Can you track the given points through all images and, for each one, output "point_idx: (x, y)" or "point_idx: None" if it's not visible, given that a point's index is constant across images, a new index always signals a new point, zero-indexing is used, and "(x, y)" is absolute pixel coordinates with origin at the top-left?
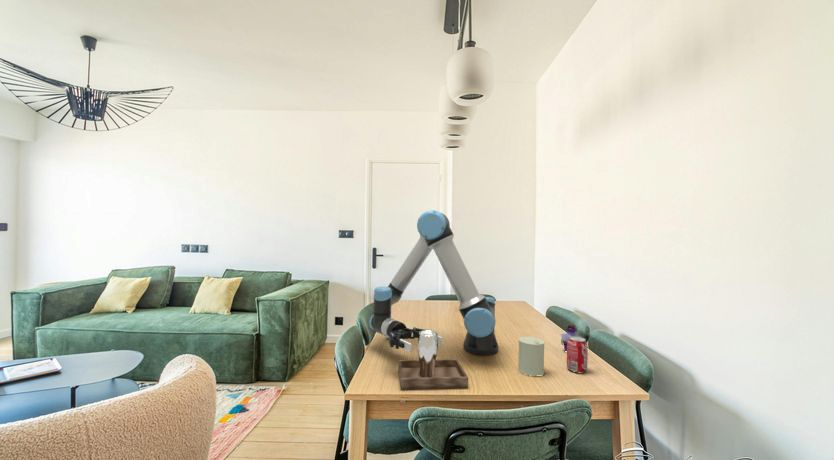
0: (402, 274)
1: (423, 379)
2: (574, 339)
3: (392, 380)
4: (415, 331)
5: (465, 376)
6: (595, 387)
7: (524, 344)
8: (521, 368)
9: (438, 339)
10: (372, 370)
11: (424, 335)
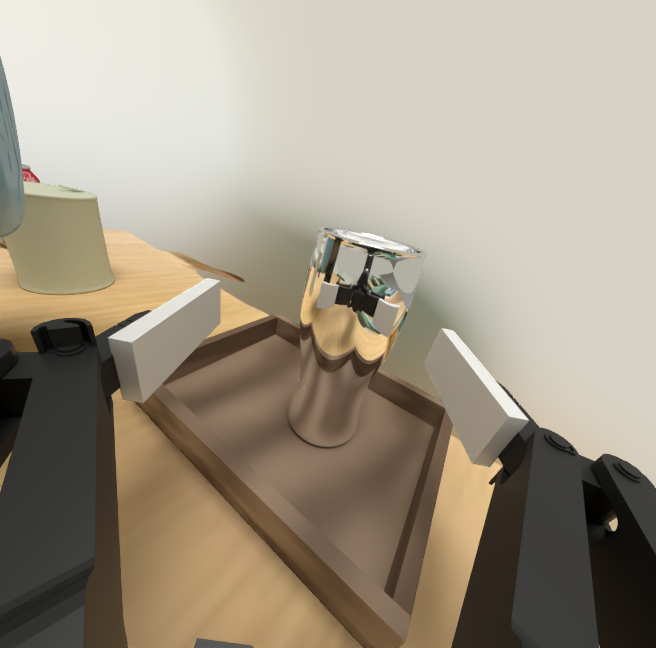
0: None
1: (382, 371)
2: None
3: (456, 523)
4: (75, 571)
5: (276, 316)
6: (129, 245)
7: (85, 203)
8: (93, 278)
9: (210, 304)
10: None
11: (354, 278)
